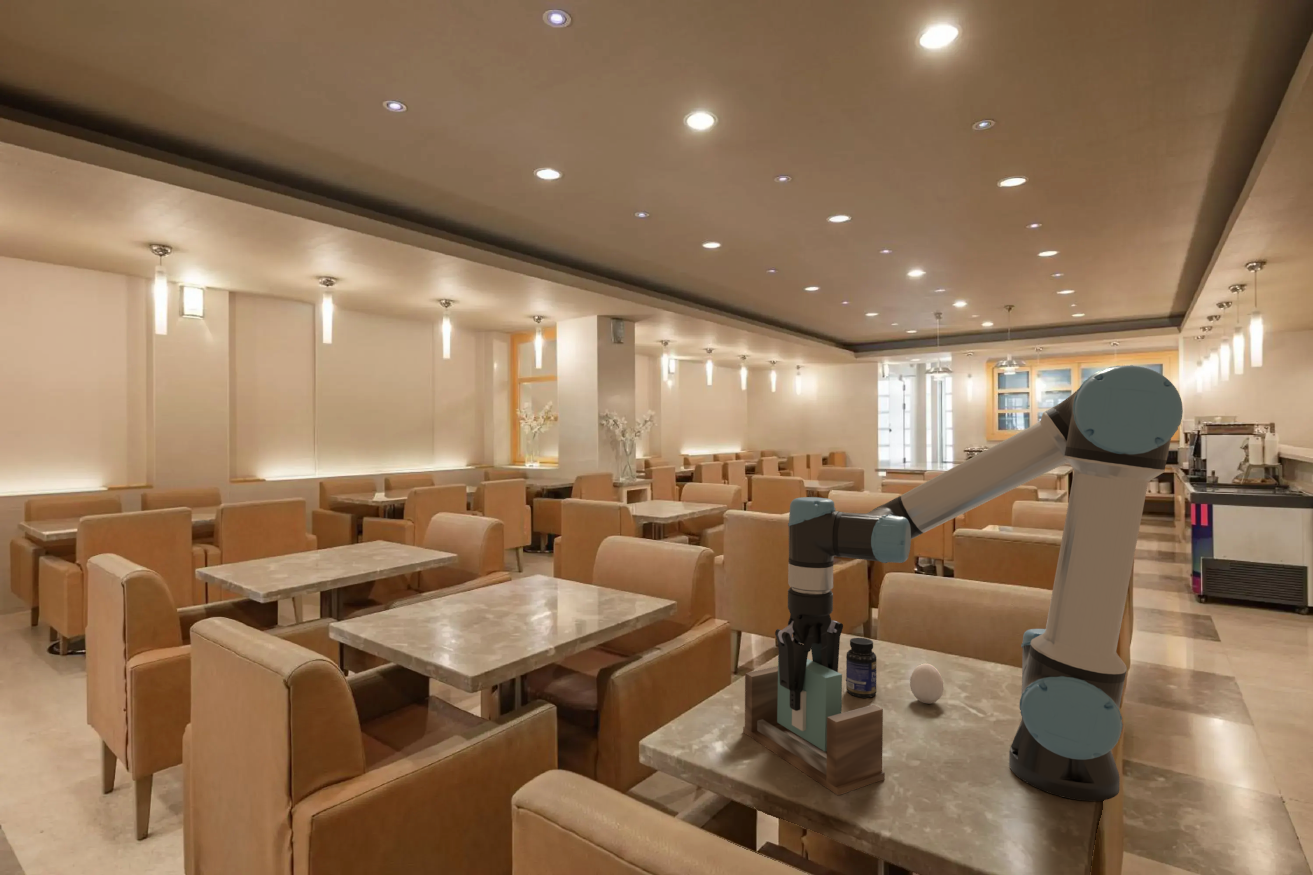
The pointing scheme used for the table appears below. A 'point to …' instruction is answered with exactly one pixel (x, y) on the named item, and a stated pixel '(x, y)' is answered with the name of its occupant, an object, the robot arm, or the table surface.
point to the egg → (926, 683)
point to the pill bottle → (861, 668)
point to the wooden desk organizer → (838, 768)
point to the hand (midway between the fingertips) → (808, 724)
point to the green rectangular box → (813, 702)
